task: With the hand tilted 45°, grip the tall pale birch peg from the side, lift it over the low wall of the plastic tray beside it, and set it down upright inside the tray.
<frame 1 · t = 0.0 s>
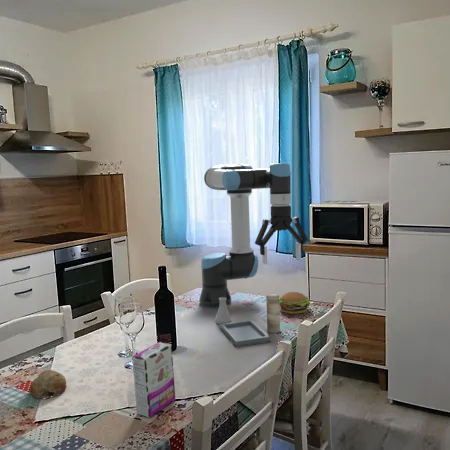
hand: (281, 261, 175), 28 cm above the table, tool pointing down, fingers open, 13 cm apart
tray: (244, 335, 179), on the table
birch peg: (273, 330, 182), on the table
bread roll: (48, 391, 140), on the table
candy bar box: (156, 407, 128), on the table
flask: (223, 322, 195), on the table
food: (294, 311, 206), on the table
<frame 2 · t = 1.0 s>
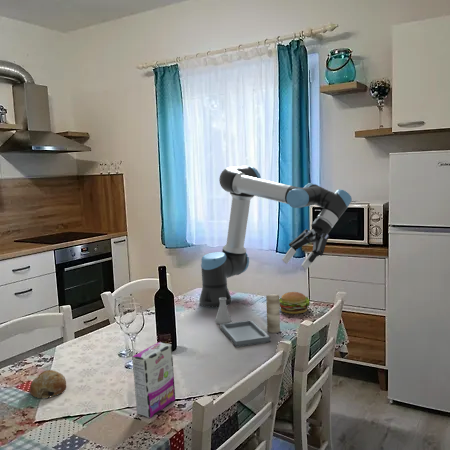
hand: (293, 264, 183), 25 cm above the table, tool tilted 45°, fingers open, 13 cm apart
nothing on the table moved.
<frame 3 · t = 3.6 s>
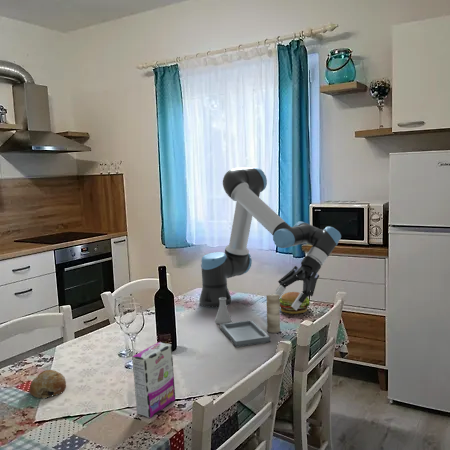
hand: (283, 304, 182), 10 cm above the table, tool tilted 45°, fingers open, 13 cm apart
nothing on the table moved.
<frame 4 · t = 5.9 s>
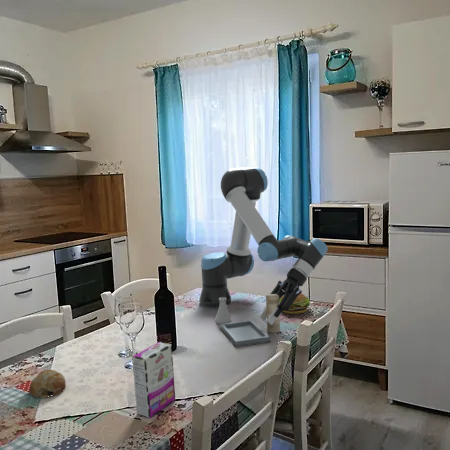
hand: (265, 320, 180), 5 cm above the table, tool tilted 45°, fingers closed on birch peg, 5 cm apart
birch peg: (273, 330, 182), on the table, touching gripper
everything else where it was.
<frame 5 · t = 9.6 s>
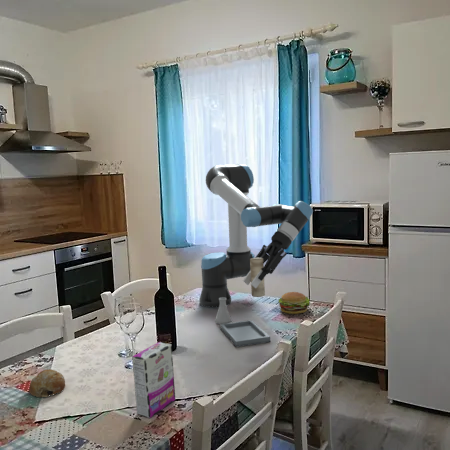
hand: (249, 284, 176), 20 cm above the table, tool tilted 45°, fingers closed on birch peg, 5 cm apart
birch peg: (258, 295, 178), point 15 cm above the table, touching gripper
everything else where it was.
when the fingers open (7 cm above the table, at t = 13.7 s): birch peg drops 1 cm, resting on tray.
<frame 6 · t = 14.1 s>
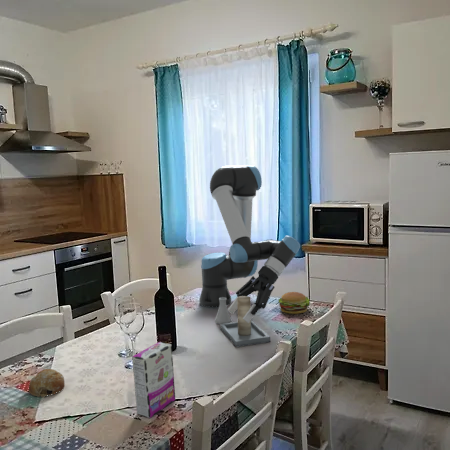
hand: (237, 316, 177), 8 cm above the table, tool tilted 45°, fingers open, 11 cm apart
birch peg: (244, 333, 179), point 1 cm above the table, touching tray
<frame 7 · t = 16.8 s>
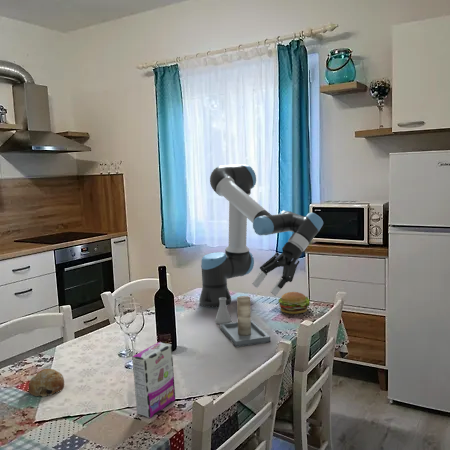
hand: (263, 289, 180), 16 cm above the table, tool tilted 45°, fingers open, 13 cm apart
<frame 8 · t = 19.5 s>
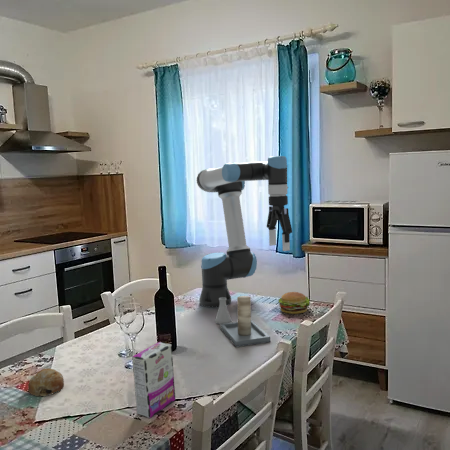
hand: (279, 247, 189), 31 cm above the table, tool pointing down, fingers open, 13 cm apart
at the end: birch peg inside the target area on the tray (0.0 cm from its centre), point 0.6 cm above the tray's base; birch peg tilted 1°; the gripper is holding nothing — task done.
